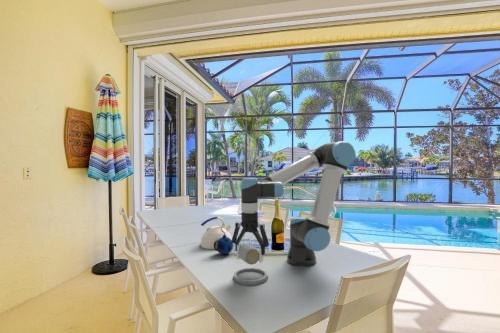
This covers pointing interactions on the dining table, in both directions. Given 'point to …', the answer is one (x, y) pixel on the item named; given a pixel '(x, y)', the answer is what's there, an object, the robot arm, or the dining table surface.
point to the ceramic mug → (249, 254)
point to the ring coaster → (250, 276)
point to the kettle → (214, 233)
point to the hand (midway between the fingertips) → (250, 260)
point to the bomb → (223, 244)
